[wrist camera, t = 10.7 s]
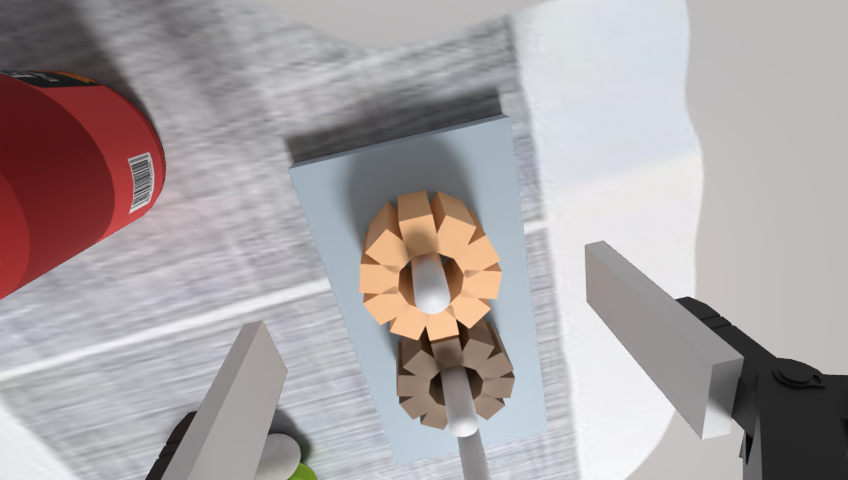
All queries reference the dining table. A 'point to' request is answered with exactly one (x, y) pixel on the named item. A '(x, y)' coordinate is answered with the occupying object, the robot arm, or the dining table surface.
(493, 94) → the dining table surface
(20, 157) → the canned food
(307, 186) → the gear board
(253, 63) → the dining table surface
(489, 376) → the gear
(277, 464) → the multicolored petal toy
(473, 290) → the gear
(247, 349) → the robot arm
